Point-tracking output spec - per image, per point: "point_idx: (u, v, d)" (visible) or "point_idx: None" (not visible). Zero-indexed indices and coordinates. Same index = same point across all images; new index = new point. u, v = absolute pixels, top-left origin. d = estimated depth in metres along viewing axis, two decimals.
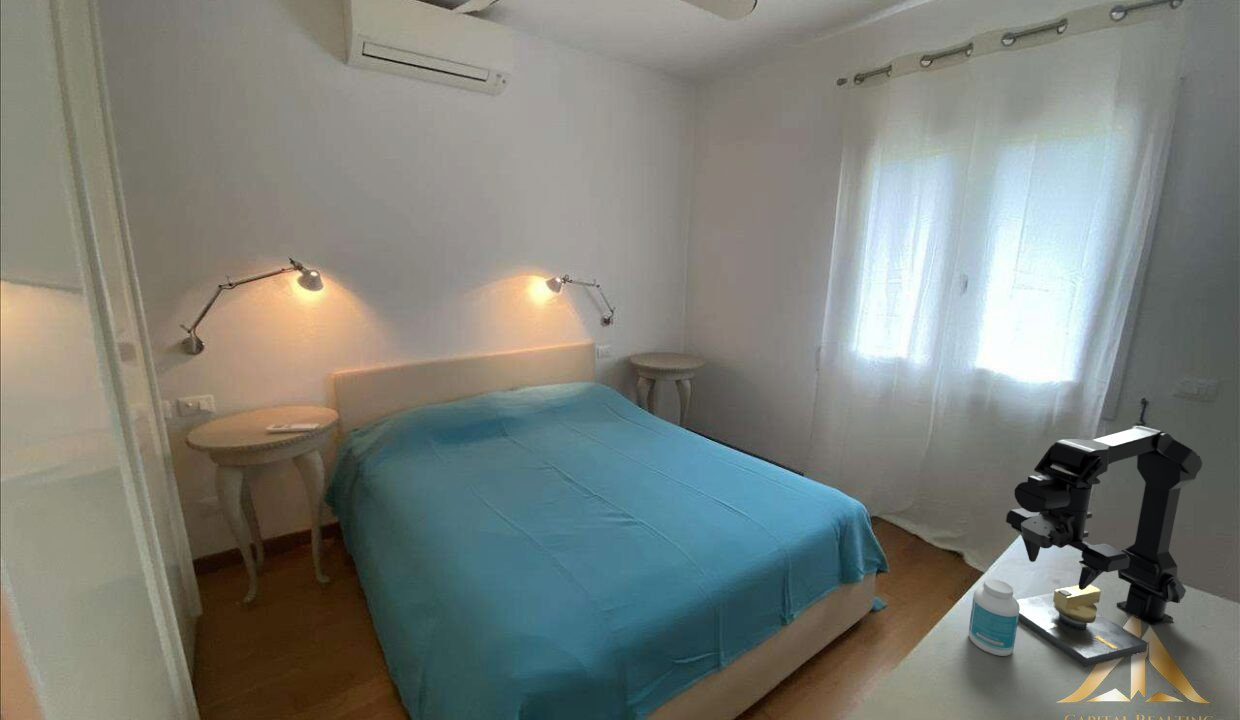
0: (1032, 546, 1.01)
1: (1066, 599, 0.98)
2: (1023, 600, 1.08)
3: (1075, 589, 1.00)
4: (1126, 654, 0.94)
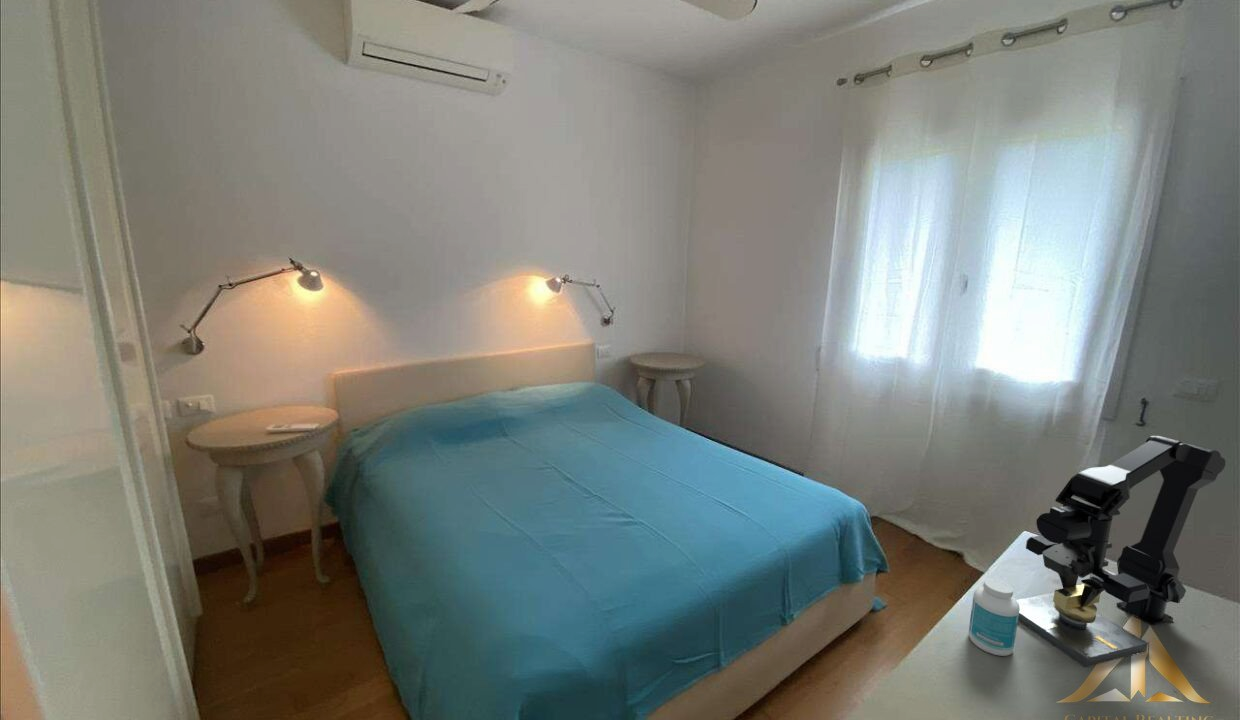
0: (1068, 582, 1.01)
1: (1066, 599, 0.98)
2: (1023, 600, 1.08)
3: (1075, 589, 1.00)
4: (1126, 654, 0.94)
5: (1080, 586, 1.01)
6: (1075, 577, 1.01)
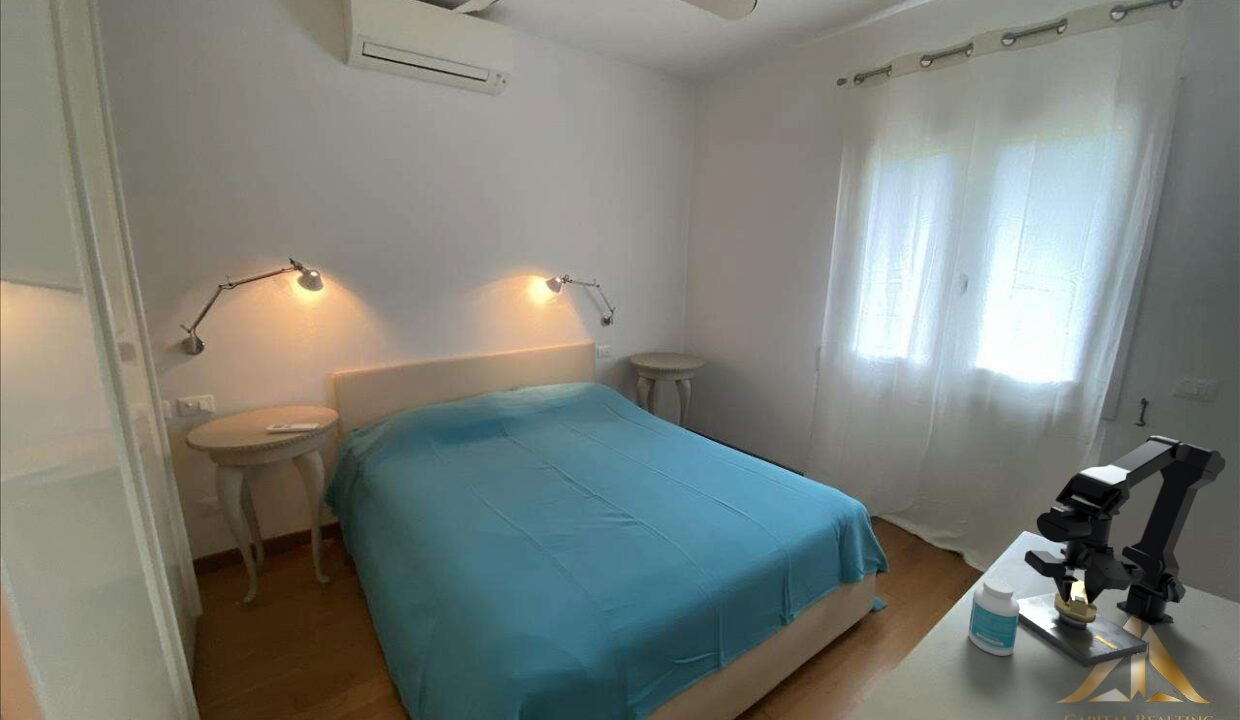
0: None
1: (1086, 606, 0.96)
2: (1023, 600, 1.08)
3: (1075, 590, 1.00)
4: (1126, 654, 0.94)
5: None
6: None
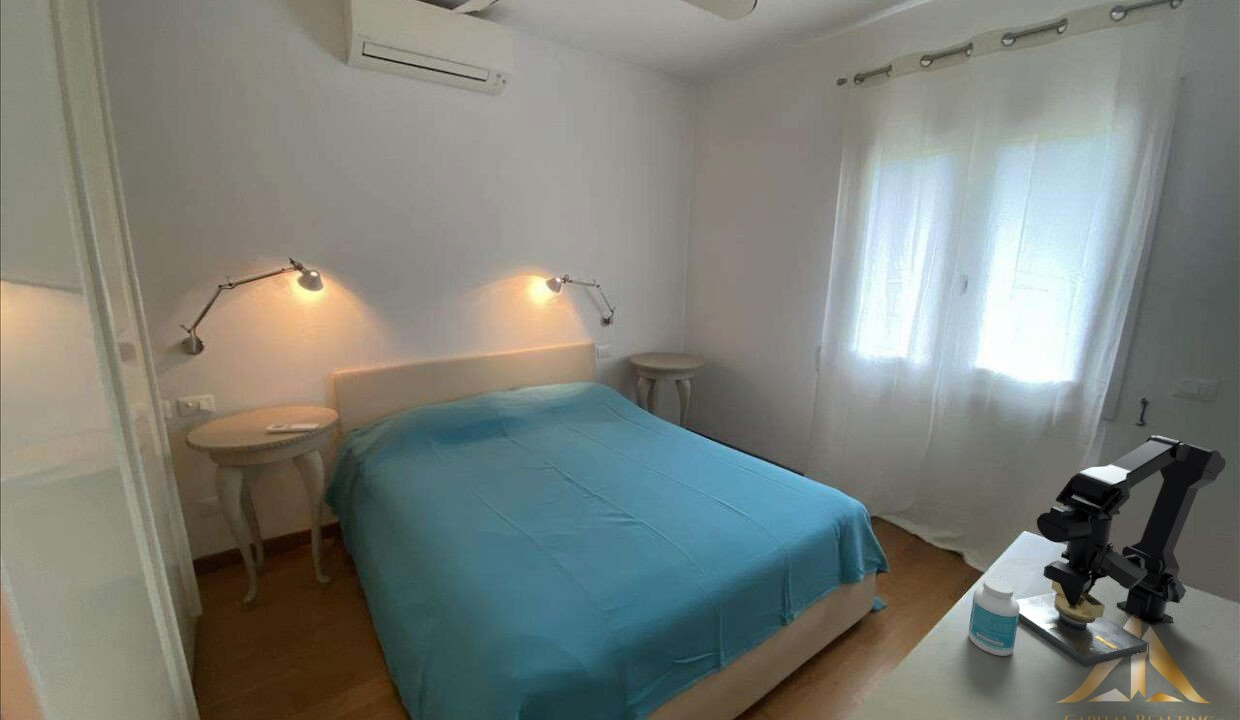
0: None
1: (1103, 607, 0.95)
2: (1023, 600, 1.08)
3: None
4: (1126, 654, 0.94)
5: None
6: None
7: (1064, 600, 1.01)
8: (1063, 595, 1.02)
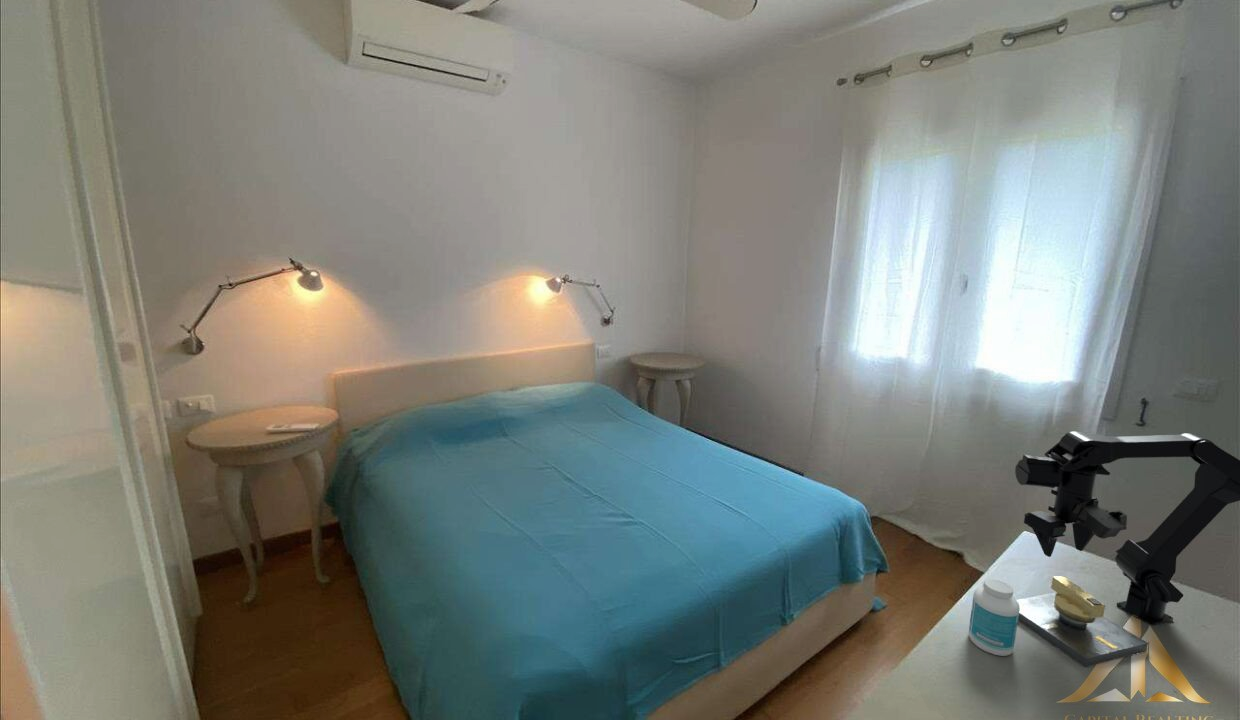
0: None
1: (1103, 607, 0.95)
2: (1023, 600, 1.08)
3: (1077, 590, 1.00)
4: (1126, 654, 0.94)
5: (1065, 584, 1.02)
6: None
7: (1064, 600, 1.01)
8: (1063, 595, 1.02)
